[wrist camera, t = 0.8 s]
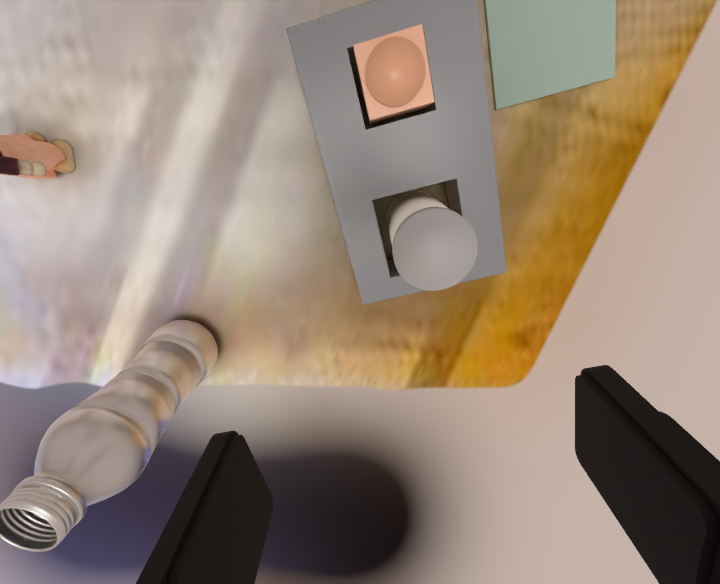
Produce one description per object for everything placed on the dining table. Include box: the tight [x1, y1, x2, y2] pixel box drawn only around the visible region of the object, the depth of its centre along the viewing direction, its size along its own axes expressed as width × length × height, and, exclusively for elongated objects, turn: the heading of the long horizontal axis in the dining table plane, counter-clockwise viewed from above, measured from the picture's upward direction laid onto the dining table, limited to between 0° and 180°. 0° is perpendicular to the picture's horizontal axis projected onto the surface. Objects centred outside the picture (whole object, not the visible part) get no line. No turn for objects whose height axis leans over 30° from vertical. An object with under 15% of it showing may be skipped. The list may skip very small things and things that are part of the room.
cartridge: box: [387, 190, 478, 291], centre depth 27 cm, size 5×5×11 cm
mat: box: [484, 0, 616, 110], centre depth 26 cm, size 12×9×1 cm
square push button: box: [353, 24, 434, 124], centre depth 24 cm, size 4×4×6 cm
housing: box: [286, 0, 507, 304], centre depth 28 cm, size 20×12×5 cm, turn 14°
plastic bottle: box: [0, 320, 218, 552], centre depth 28 cm, size 6×7×20 cm
